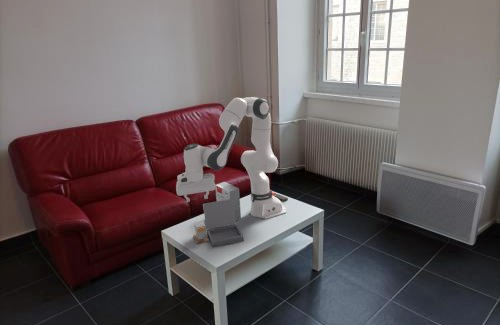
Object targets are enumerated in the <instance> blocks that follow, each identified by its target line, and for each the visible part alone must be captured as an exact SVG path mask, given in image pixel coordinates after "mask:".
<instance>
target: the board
mask: <svg viewBox="0 0 500 325" xmlns="http://www.w3.org/2000/svg"><path fill="white" fill-rule="evenodd" d="M206 236H207V239H204V240H199V241H197V238H196V233H195V234H193V239H194V241H195V244H196V245H198V244H199V245H200V244H205V243H209V242H210V240H209V237H208V235H207V233H206Z"/></svg>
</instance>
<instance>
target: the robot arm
mask: <svg viewBox="0 0 500 325" xmlns="http://www.w3.org/2000/svg"><path fill="white" fill-rule="evenodd" d="M244 117H248V118H251V119H252V126H251V135H250V136H251V137H250V141H251V143H252V144H253V146H254V148H255V150H253V149H252V150H244V152H242V154H241V157H240V162H241V164H242V165H243V167H244V168H245V169H246V172H247V174H248V176H249V180H250V188H251V189H250V190H251V192H250V201H251V206H250V210H249V214H250V215H251V216H252V217H254V218H262V219H264V220H265V219H270V218H273V217H278V216H279V215H283V214H286V213H287V208H286V207H285V206H284V205H283V203H282V201H281V200H280V199H279V198H278V197H276V196H275V195H276V192H274V191H273V190H271V189H270V179H269V176H267V175H266V173H274V172H276V170H277V168H278V166H279V160H278V158H277V156H276V155H275V154H274V152H273V149H272V145H271V133H272V132H271V131H272V129H271V128H272V120H271V114H270V104H269V101H268V100H267V99H265V98H262V97H256V96H251V97H247V96H243V97H234V98H233V99H231V101H230V102H229V103H228V104H227V105H226V106H225V108H224V110H223V112H221V115H220V116H219V119H218V124H219V126H220V128H221V129H222V130H223V131H224V136H223V138H222V139H221V140H222V141H221V142H220V144H219V146H218V148H216V149H215V148H213V147H209V146H202V145H200V144H198V143H191V144H188V145H186V146H185V147H184V149H183V161H184V165H185V172H182V173H181V174H178V175H177V181H176V185H175V186H176V187H175V189H176V195H177V196H179V197H180V196H183V197H184V198H185V200H186V203H190V202H191V201H190V197H188V195H192V194H199V193H205V192H206V193H205V194H204V195H203V196H204V200H208V199H209V197H208V196H209V195H210V191H211V192H212V191H216V189H215V188H216V187H215V185H216V183H215V180H216V178H215V177H216V176H215V174H214V173H212V172H209V173H204V170H203V168H204V167H207V168H210V169H212V170H214V171H220V170H223V168H224V167H225V166H226V164H227V162H228V157H229V154H230V152H231V150H232V149H233V146H234V144H235V142H236V139H237V137H238V134H239V126H240V124H241V122H242V121H243V119H244Z"/></svg>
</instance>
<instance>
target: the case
mask: <svg viewBox="0 0 500 325" xmlns="http://www.w3.org/2000/svg"><path fill="white" fill-rule="evenodd" d="M206 234H207V236H208V239H209V242H210V245H211V247H212V248H216V247H220V246H226V245H231V244H235V243H240V242H244V241H245V239H244V238H245V237H244V234H243V233H242V231H241V229H240V228H239V225H238V224H231V225H225V226H220V227H215V228H210V229H206Z"/></svg>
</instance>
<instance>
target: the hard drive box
mask: <svg viewBox="0 0 500 325" xmlns="http://www.w3.org/2000/svg"><path fill="white" fill-rule="evenodd" d="M215 187H216V188H215V198H216V201H215V202H217V201H223V200H229V199H232V200H233V206H234V212H235V219H236V221H238V220H241V219H242V216H241V215H242V213H241V199H240V188H239V187H236V186H234V185H233V184H230V183H228V182H226V181H222V182H220V183H217V184H216V183H215Z"/></svg>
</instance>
